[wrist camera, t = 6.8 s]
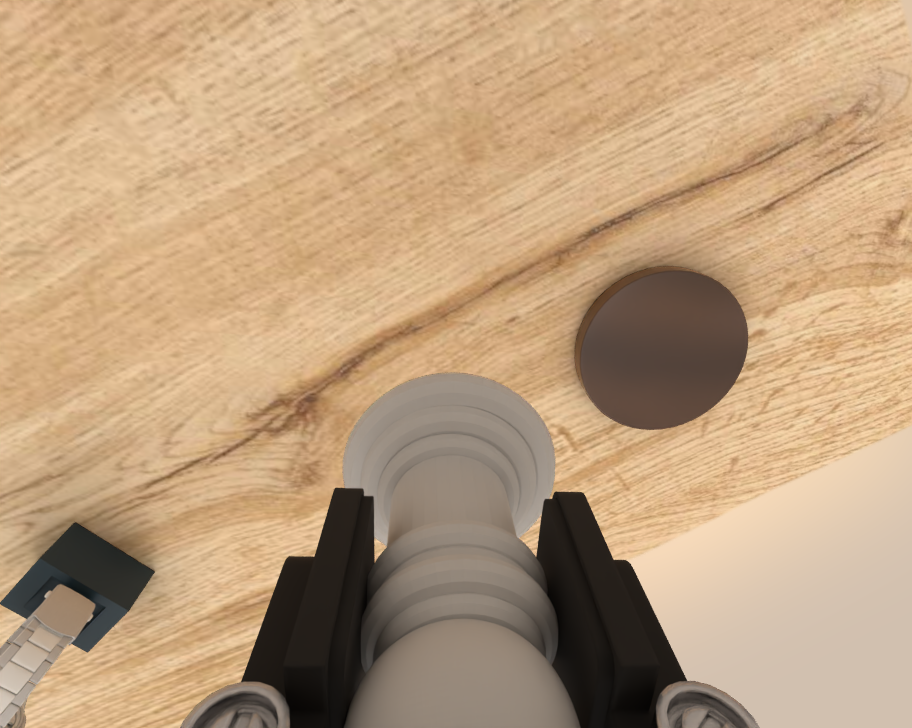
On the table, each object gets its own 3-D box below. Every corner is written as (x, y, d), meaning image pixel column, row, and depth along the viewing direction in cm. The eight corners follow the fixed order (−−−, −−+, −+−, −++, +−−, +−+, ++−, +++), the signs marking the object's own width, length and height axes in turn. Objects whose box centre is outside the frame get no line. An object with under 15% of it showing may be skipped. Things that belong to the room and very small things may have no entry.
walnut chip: (583, 264, 28) (589, 268, 27) (753, 267, 29) (766, 271, 27) (566, 420, 31) (571, 430, 30) (719, 420, 32) (729, 430, 31)
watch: (20, 583, 34) (-159, 769, 24) (91, 504, 32) (-70, 668, 22) (100, 628, 35) (-35, 821, 25) (172, 556, 34) (58, 732, 23)
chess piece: (378, 561, 15) (321, 1062, 7) (317, 393, 13) (135, 808, 5) (564, 520, 15) (740, 983, 7) (532, 343, 13) (721, 685, 5)
